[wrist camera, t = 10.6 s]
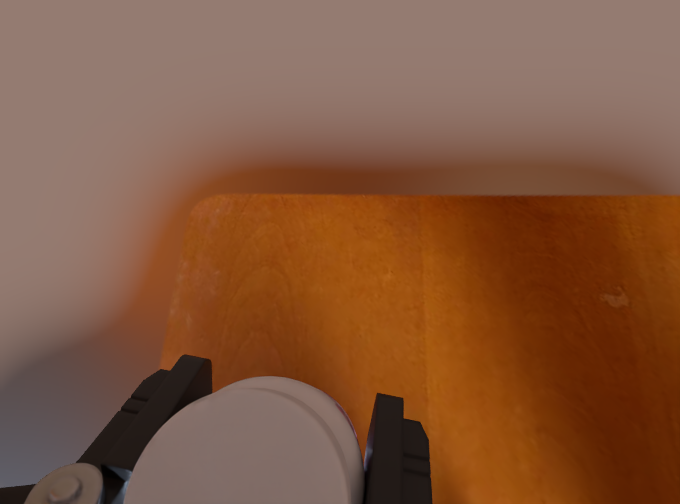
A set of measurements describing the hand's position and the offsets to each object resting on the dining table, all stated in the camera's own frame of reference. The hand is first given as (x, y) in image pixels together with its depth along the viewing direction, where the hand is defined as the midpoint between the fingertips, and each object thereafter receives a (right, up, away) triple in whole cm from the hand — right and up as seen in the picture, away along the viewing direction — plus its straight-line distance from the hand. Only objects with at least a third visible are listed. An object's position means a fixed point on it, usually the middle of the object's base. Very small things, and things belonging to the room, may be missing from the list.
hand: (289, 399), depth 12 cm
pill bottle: (0, -3, +4) cm, 5 cm away
